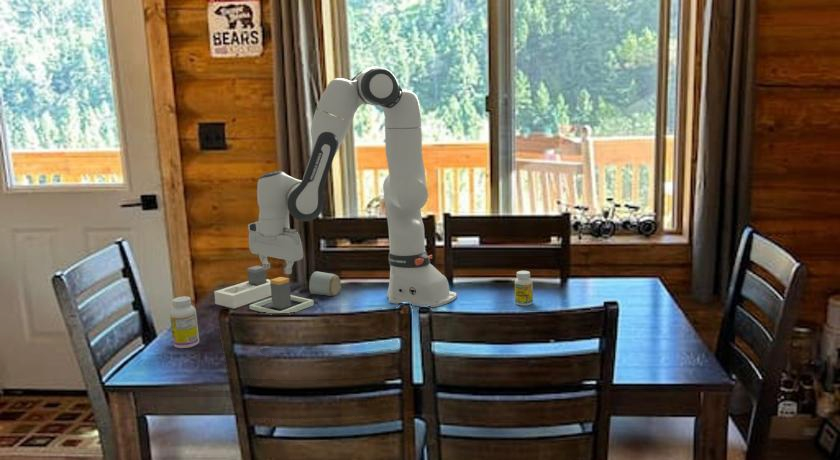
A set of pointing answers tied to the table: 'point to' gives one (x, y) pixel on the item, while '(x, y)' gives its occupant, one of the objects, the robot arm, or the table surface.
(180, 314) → the supplement bottle
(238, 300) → the socket strip
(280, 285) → the grey plug
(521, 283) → the supplement bottle
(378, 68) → the robot arm
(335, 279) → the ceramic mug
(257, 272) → the twin plug
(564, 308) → the table surface
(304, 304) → the white square frame
